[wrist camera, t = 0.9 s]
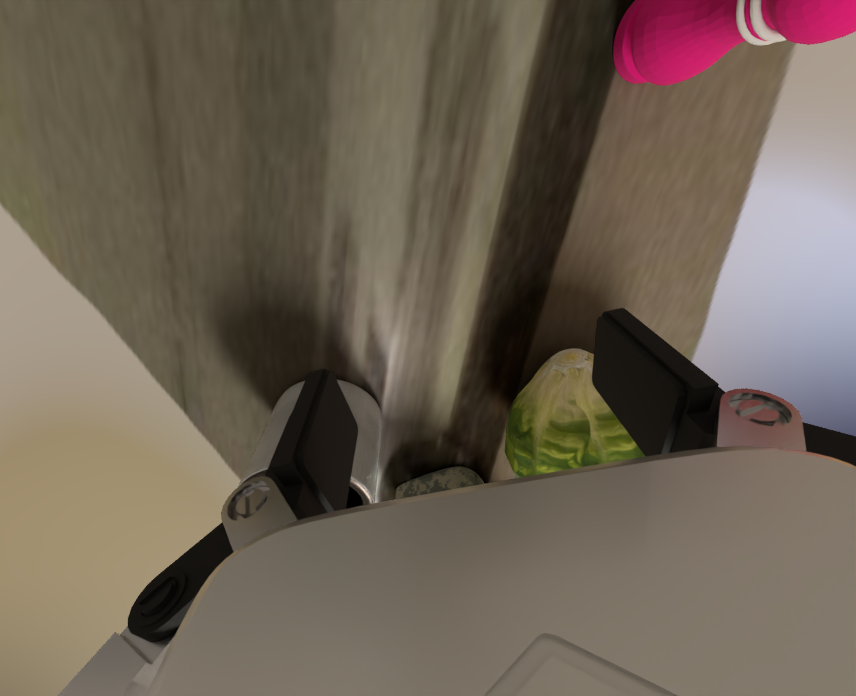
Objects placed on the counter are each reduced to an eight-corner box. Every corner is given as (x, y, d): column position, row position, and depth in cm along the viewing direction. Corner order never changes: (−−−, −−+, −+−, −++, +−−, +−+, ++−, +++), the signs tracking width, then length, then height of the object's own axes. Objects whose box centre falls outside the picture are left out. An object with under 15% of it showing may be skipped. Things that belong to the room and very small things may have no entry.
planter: (370, 366, 46) (357, 457, 33) (391, 441, 55) (386, 535, 42) (260, 380, 47) (204, 476, 34) (298, 453, 56) (265, 550, 43)
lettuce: (616, 307, 44) (695, 385, 28) (630, 434, 54) (695, 544, 38) (478, 343, 49) (479, 424, 34) (513, 452, 59) (528, 556, 43)
